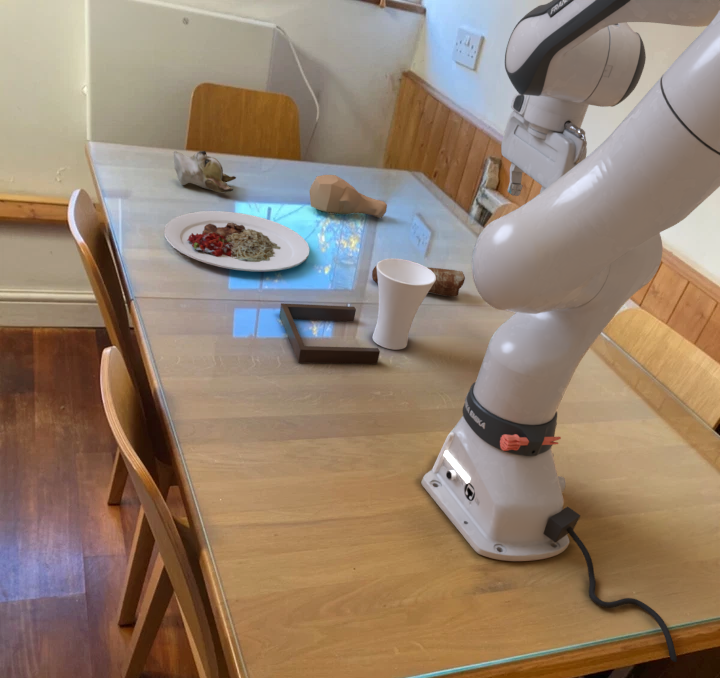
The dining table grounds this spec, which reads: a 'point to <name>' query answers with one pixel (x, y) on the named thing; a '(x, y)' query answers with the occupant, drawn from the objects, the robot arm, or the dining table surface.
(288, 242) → the plated food
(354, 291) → the dining table surface
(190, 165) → the ceramic sculpture
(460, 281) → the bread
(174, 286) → the dining table surface
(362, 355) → the dark brown flat frame
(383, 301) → the cup
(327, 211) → the tan chicken drumstick
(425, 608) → the dining table surface
